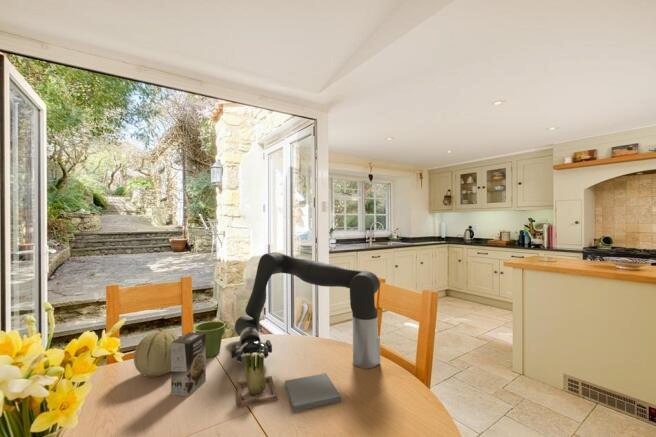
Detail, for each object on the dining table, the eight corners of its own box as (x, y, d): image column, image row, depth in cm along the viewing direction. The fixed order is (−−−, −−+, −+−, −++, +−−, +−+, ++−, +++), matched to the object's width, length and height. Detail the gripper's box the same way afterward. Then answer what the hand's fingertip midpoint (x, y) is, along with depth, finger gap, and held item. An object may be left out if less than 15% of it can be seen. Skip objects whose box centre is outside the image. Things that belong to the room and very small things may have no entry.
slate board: (326, 377, 101) (326, 373, 101) (341, 401, 87) (341, 396, 87) (284, 385, 96) (284, 380, 96) (293, 411, 83) (293, 406, 83)
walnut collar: (271, 379, 100) (271, 375, 100) (277, 399, 88) (277, 395, 88) (237, 385, 96) (237, 381, 96) (238, 407, 85) (238, 403, 85)
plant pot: (232, 351, 122) (231, 323, 122) (206, 363, 112) (206, 333, 112) (213, 345, 128) (213, 319, 128) (187, 356, 118) (187, 327, 118)
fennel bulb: (244, 392, 92) (243, 353, 92) (257, 385, 96) (256, 348, 96) (255, 399, 89) (254, 359, 89) (268, 392, 92) (268, 353, 92)
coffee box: (188, 397, 90) (188, 343, 90) (170, 394, 92) (169, 342, 92) (206, 381, 99) (206, 332, 99) (189, 379, 101) (189, 331, 101)
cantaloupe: (138, 391, 94) (137, 343, 94) (130, 373, 105) (130, 330, 105) (188, 374, 104) (187, 331, 104) (176, 360, 115) (176, 320, 115)
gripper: (230, 332, 116) (231, 349, 101) (268, 327, 120) (273, 343, 105) (231, 351, 116) (231, 371, 101) (268, 346, 120) (274, 364, 105)
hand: (253, 357), depth 103 cm, fingers open, 8 cm apart
